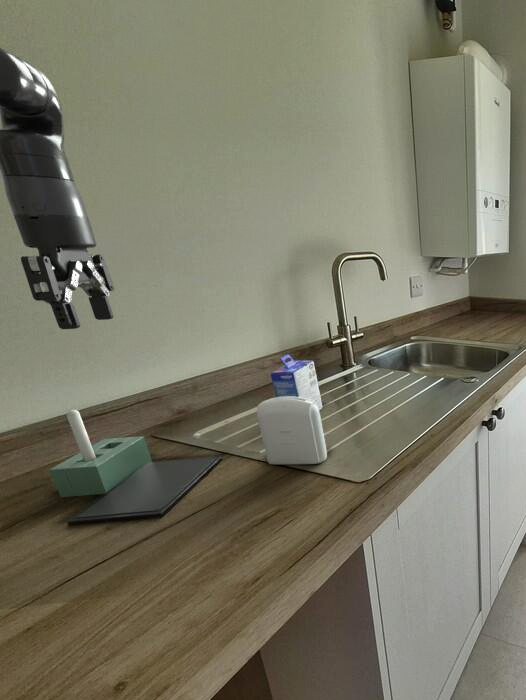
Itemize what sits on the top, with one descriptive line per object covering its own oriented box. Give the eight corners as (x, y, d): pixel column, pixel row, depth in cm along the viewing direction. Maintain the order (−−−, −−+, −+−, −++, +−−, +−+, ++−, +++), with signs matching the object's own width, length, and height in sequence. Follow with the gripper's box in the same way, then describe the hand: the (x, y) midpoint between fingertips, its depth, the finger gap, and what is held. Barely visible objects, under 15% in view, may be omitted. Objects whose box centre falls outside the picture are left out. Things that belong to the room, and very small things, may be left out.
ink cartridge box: (300, 408, 99) (289, 350, 95) (323, 408, 99) (313, 350, 95) (279, 425, 90) (266, 361, 85) (305, 424, 90) (293, 361, 85)
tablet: (68, 525, 58) (66, 521, 57) (149, 465, 74) (148, 461, 73) (162, 517, 59) (161, 512, 59) (222, 460, 75) (221, 456, 75)
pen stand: (60, 497, 64) (48, 469, 63) (113, 463, 74) (104, 438, 73) (106, 493, 65) (96, 466, 64) (152, 460, 75) (144, 436, 74)
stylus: (91, 487, 67) (62, 412, 63) (98, 482, 68) (70, 408, 64) (101, 486, 67) (72, 411, 63) (107, 482, 68) (80, 408, 64)
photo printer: (263, 466, 73) (249, 401, 69) (277, 454, 77) (264, 393, 73) (320, 466, 73) (309, 401, 69) (331, 454, 77) (321, 393, 73)
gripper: (53, 216, 65) (88, 318, 70) (-26, 209, 52) (23, 334, 57) (111, 217, 67) (140, 315, 72) (48, 210, 54) (89, 330, 60)
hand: (88, 323), depth 65 cm, fingers open, 8 cm apart
